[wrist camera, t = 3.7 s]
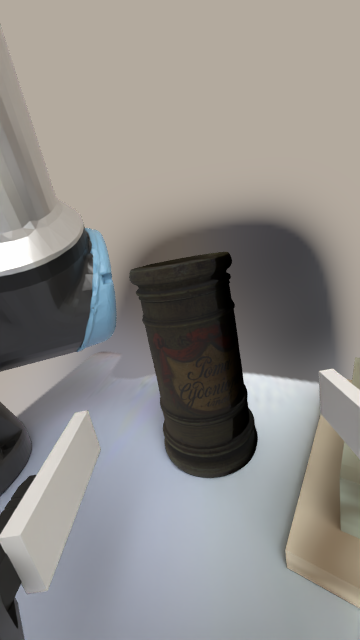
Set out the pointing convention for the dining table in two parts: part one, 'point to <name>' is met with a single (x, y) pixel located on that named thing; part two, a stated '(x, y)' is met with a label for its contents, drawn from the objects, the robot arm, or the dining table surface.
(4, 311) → the robot arm
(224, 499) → the dining table surface
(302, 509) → the collar board
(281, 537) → the dining table surface
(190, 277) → the container
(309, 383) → the dining table surface
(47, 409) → the dining table surface
